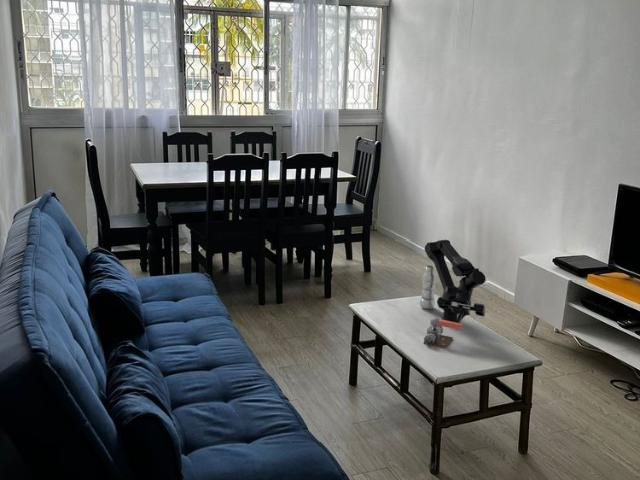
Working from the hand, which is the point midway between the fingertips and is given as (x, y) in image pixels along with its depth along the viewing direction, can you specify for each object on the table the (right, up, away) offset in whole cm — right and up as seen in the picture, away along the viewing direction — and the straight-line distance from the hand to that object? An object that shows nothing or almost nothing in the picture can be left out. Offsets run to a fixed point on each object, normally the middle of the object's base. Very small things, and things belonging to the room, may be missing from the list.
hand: (456, 325), depth 247 cm
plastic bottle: (-5, +2, +38) cm, 38 cm away
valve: (-6, -7, +4) cm, 10 cm away
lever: (-4, 0, +1) cm, 4 cm away
